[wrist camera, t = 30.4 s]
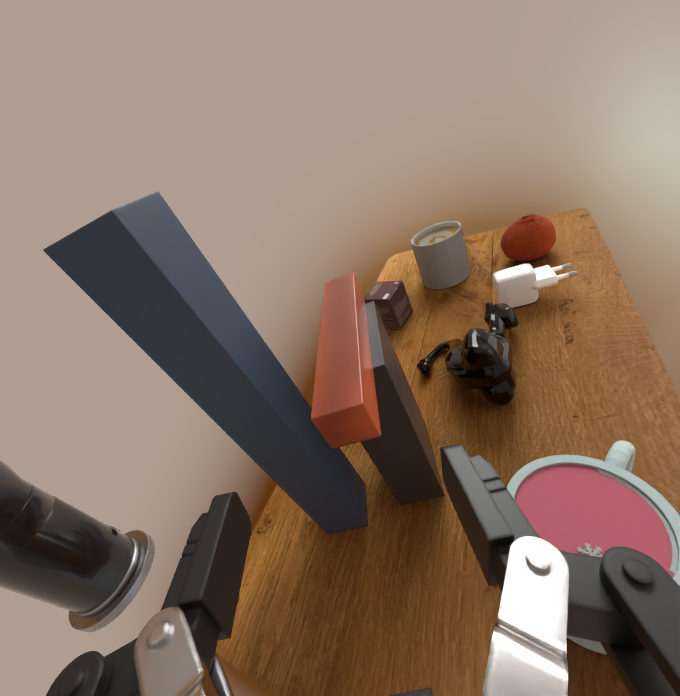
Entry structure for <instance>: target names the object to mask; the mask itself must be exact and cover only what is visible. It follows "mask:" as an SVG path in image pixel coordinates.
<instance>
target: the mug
mask: <svg viewBox="0 0 680 696" xmlns="http://www.w3.org/2000/svg"><path fill="white" fill-rule="evenodd" d="M634 458H635V448H634V446H633V445H632V444H631V443H629V442H627V441H617V442H615V443H614V444H613V445H612V447H611V449H610V450H609V452H608V454H607V456H606V459H605V461H601V460H598V459H594V458H590V457H584V456H577V455H555V456H548V457H544V458H541V459H537V460H535V461H533V462H530V463H529V464H527V465H525V466H524V467H522V468H521V469H520V470H519V471H518V472H517V473H516V474H515V475H514V476H513V477H512V479H511V480H510V482H509V484H508V486H507V490H508V491H509V492H510V494H511V495H512V497H513V498H514V500H515V501H516V503H517V504H518V506H519V507H520V509H521V511H522V512H523V514H524V515H525V517H526V518H527V520H528V521H529V523H530V524H531V526H532V527H533V529H534V530H535V532H536V533H537V534H538V535H539V536H540V537H541V538H542V539H543V540H545V541H547V542H549V543H550V544H552V545H553V546H554V547H555V548H557V549H560V550H562V551H565V552H569V553H575V554H582V555H590V556H597V557H602V556H603V554H604V552H605V551H606V550H607V549H609V548H612V547H619V546H621V547H628V548H632V549H635V550H638V551H640V552H642V553H644V554H646V555H648V556H649V557H651V558H652V559H654V560H655V561H656V562H658V563H659V564H660V565H661V566H662V567H663V568H664V569H665V570H666V571H667V572H668V573H669V575H670V576H671V577H672V578H673V579H674V580H675V581H676V583H677V584H678V585H679V586H680V516H679V515H678V513H677V512H676V510H675V509H674V508H673V507H672V506H671V505H670V503H669V502H668V501H667V500H666V499H665V498H664V497H663V496H662V495H661V494H660V493H658V492H657V491H656V490H655V489H654V488H653V487H651V486H650V485H649V484H647V483H646V482H644V481H643V480H641V479H640V478H638V477H637V476H635V475H633V474H632V473H631V471H632V467H633V463H634ZM567 638H568V639H570V640H572V641H573V642H575V643H577V644H579V645H580V646H582V647H585V648H587V649H589V650H592V651H595V652H598V653H602V654H606V655H607V653H606V651H605V650H604V648H603V646H602V645H601V643H600V642H596V641H592V640H587V639H582V638H578V637H573V636H568V635H567Z"/></svg>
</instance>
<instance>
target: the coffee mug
mask: <svg viewBox="0 0 680 696" xmlns="http://www.w3.org/2000/svg"><path fill="white" fill-rule="evenodd" d="M411 245H412V248H413V251H414V255H415V258H416V261H417V264H418V268H419V271H420V274H421V278H422V281H423V284H424V286H425V287H427V288H429V289H444V288H448V287H452V286H454V285H457V284H459V283H460V282H462V281H463V280H465V279H466V278H467V277H468V276H469V274H470V265H469V260H468V255H467V251H466V246H465V241H464V236H463V231H462V227H461V224H460V223H459V222H455V221H448V222H442V223H438V224H435V225H432V226H430V227H427V228H425V229H423V230H422V231H420V232H419V233H417V234H416V235H415V236H414V237H413V238H412V240H411Z"/></svg>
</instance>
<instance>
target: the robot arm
mask: <svg viewBox="0 0 680 696" xmlns="http://www.w3.org/2000/svg"><path fill="white" fill-rule="evenodd" d="M440 452H441V462H442V473H443V479H444V483H445V486H446V489H447V492H448V494H449V497H450V499H451V501H452V503H453V506H454V508H455V510H456V512H457V515H458V517H459V519H460V521H461V524H462V526H463V528H464V530H465V533H466V535H467V537H468V539H469V542H470V544H471V546H472V549H473V551H474V553H475V555H476V558H477V560H478V562H479V564H480V567H481V569H482V571H483V573H484V576H485V578H486V580H487V582H488V585H489V586H492V585H497V584H499V586H500V588H501V590H502V598H501V603H500V609H499V614H498V619H497V622H496V624H495V627H494V632H493V637H492V642H491V648H490V653H489V659H488V664H487V670H486V675H485V681H484V686H483V692H482V696H567V694H568V661H567V657H566V647H567V635H568V636H573V637H578V638H582V639H587V640H592V641H596V642H600V643H601V645H602V646H603V648H604V650H605V651H606V653H607V655H608V657H609V658H610V660H611V662H612V663H613V665H614V667H615V669H616V670H617V672H618V674H619V676H620V677H621V679H622V681H623V682H624V684H625V686H626V688H627V689H628V691H629V693H630V694H631V696H680V586H679V585H678V584H677V583H676V581H675V580H674V579H673V578H672V577H671V576H670V575H669V573H668V572H667V571H666V570H665V569H664V568H663V567H662V566H661V565H660V564H659V563H658V562H656V561H655V560H654V559H652V558H651V557H649V556H648V555H646V554H644V553H642V552H640V551H638V550H635V549H632V548H628V547H621V546H619V547H612V548H609V549H607V550H606V551H605V552H604V554H603V556H602V557H597V556H590V555H582V554H575V553H569V552H565V551H562V550H560V549H557V548H555V547H554V546H553V545H552V544H550V543H549V542H547V541H545V540H543V539H542V538H541V537H540V536H539V535H538V534H537V533H536V532H535V530H534V529H533V527H532V526H531V524H530V523H529V521H528V520H527V518H526V517H525V515H524V514H523V512H522V511H521V509H520V507H519V506H518V504H517V503H516V501H515V500H514V498H513V497H512V495H511V494H510V492H509V491H508V490H507V488H506V486H505V484H504V483H503V481H502V480H501V479H500V477H499V475H498V474H497V472H496V471H495V469H494V468H493V466H492V465H491V464H490V463H489V462H487V461H486V460H485V459H483V458H482V457H481V456H480V455H477V456H472V457H469V456H468V455H467V453H466V451H465V449H464V448H463V446H462V445H461V444H456V445H451V446H446V447H442V448H441V449H440ZM113 528H114V527H112V528H111V526H109V525H106V524H104V523H102V522H100V521H98V520H97V519H95V518H93V517H91V516H89V515H88V514H86V513H84V512H82V511H80V510H78V509H77V508H75V507H73V506H71V505H69V504H67V503H66V502H64V501H62V500H60V499H58V498H57V497H55V496H52V495H51V494H49V493H47V492H45V491H43V490H42V489H40V488H38V487H36V486H34V485H32V484H30V483H29V482H27V481H25V480H23V479H22V478H20V477H19V476H18V475H17V474H16V473H15V472H14V471H13V470H12V469H11V468H10V467H9V466H8V465H6V464H5V463H3V462H2V461H0V587H2V588H5V589H8V590H11V591H13V592H16V593H20V594H22V595H25V596H28V597H32V598H34V599H37V600H40V601H43V602H46V603H49V604H52V605H55V606H58V607H60V608H64V609H66V610H69V611H72V612H75V613H76V614H78V615H81V616H84V617H89V616H93V615H95V614H97V613H99V612H100V611H102V610H103V609H105V608H106V607H107V606H108V605H109V604H110V603H111V602H112V601H113V600H114V599H115V598H116V597H117V596H118V595H119V594H120V592H121V591H122V590H123V589H124V587H125V586H126V584H127V583H128V581H129V580H130V578H131V576H132V574H133V572H134V570H135V568H136V565H137V563H138V559H139V555H140V546H139V543H138V542H137V541H136V540H135V539H133V538H131V537H127V536H126V535H124V534H122V533H120V532H118V531H117V530H115V529H116V528H114V529H113ZM250 535H251V521H250V517H249V515H248V513H247V511H246V509H245V507H244V506H243V503H242V501H241V500H240V498H239V496H238V494H237V493H236V492H231V493H227V494H222V495H217V496H215V497H214V498H213V500H212V503H211V506H210V509H209V511H208V513H203V514H202V515H201V516H200V517H199V519H198V520H197V522H196V523H195V524H194V526H193V527H192V529H191V532H190V535H189V537H188V540H187V545H186V546H185V548H184V550H183V553H182V558H181V559H180V561H179V564H178V566H177V569H176V572H175V574H174V577H173V580H172V582H171V585H170V588H169V590H168V593H167V596H166V598H165V601H164V604H163V606H162V608H161V610H160V612H158V613H157V614H156V615H154V616H153V617H152V618H151V619H150V620H149V621H148V623H147V624H146V625H145V626H144V628H143V629H142V631H141V633H140V634H139V636H138V638H136V639H135V640H133V641H132V642H130V643H128V644H126V645H125V646H123V647H121V648H119V649H118V650H116V651H114V652H112V653H110V654H109V655H107V656H105V657H104V656H102V655H101V654H100V653H99V652H96V651H90V652H87V653H84V654H82V655H80V656H79V657H77V658H76V659H75V660H74V661H72V662H71V663H70V664H69V665H68V666H67V667H66V668H65V669H64V670H63V671H62V672H61V673H60V674H59V676H58V677H57V678H56V679H55V681H54V683H53V684H52V685H51V687H50V689H49V691H48V693H47V695H46V696H234V694H233V692H232V689H231V686H230V684H229V681H228V679H227V676H226V673H225V671H224V668H223V666H222V663H221V661H220V658H219V656H218V654H217V652H216V646H217V642H218V640H223V639H228V638H230V637H231V632H232V627H233V622H234V617H235V612H236V606H237V601H238V596H239V591H240V586H241V581H242V576H243V571H244V565H245V560H246V555H247V550H248V545H249V540H250ZM391 696H433V693H432V689H431V687H430V688H425V689H420V690H414V691H409V692H403V693H398V694H393V695H391Z"/></svg>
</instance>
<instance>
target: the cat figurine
mask: <svg viewBox="0 0 680 696" xmlns="http://www.w3.org/2000/svg"><path fill="white" fill-rule="evenodd" d="M484 320H485V321H486V323H487V325H488V327H489V329H490V332H488V331H486V330H483V329H477V328H474V329H470V330H469V331H468V332H467V334H466V335H465V337H464V340H463V341H462V340H460V339H453V340H449V341H446V342H443V343H441V344H440V345H439V346H437V347H436V348H435V349H434V350H433V351H432V352H431V353H430V354H429V355H428V356H427V357H426V358H424V359H422V360H420V362H419V363H418V365H417V368H418V369H419V371H420V372H421V374H422V375H424V374H428V373H430V372H431V366H432V359H433V358H434V357H435V356H436V355H437V354H438V353H439V352H440V351H441V350H443V349H446V348H448V351H447V355H446V361H445V363H446V366H447V370H448V372H449V374H450V375H451V377H452V379H453V380H454V382H455V383H456V384H458V385H459V386H460V387H462V388H465V389H478V390H479V391H480V392H481V393H482V394H483V395H484V397H485V398H486V399H487V400H489V401H491V402H493V403H495V404H498V405H502V406H503V405H507V404H508V403H509V402H510V401H511V400H512V398H513V395H514V391H515V387H516V380H517V374H516V370H515V368H514V365H513V364H514V348H513V345H512V343H511V342H510V341H509V329H512V328H515V327H517V326H518V325H519V322H518V319H517V317H516V315H515V313H514V311H513V310H512V308H511V307H510V306H509V305H507V304H505V303H500V304H496V305H493V306H492V303H491V302H489V303H487V304H486V312H485V316H484Z"/></svg>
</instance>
